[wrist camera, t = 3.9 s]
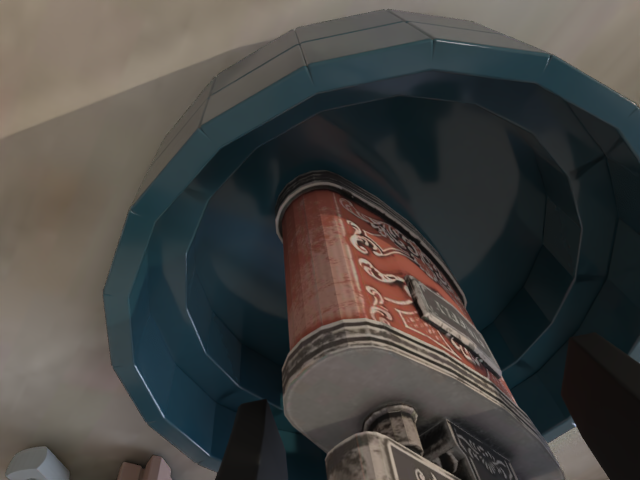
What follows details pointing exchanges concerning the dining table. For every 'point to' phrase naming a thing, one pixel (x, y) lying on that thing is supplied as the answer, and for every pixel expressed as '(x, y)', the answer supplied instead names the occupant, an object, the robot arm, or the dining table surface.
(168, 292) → the bowl
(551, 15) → the dining table surface
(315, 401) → the lighter
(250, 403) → the robot arm
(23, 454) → the clamp
